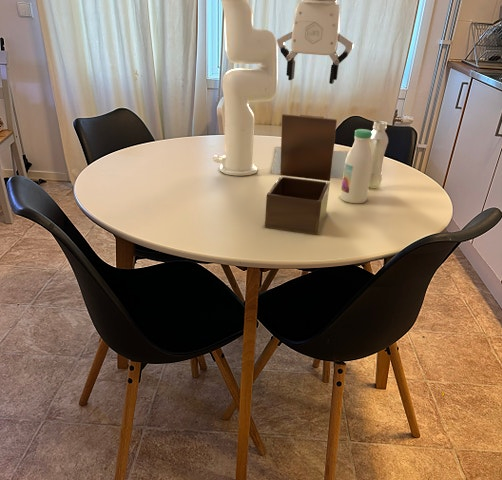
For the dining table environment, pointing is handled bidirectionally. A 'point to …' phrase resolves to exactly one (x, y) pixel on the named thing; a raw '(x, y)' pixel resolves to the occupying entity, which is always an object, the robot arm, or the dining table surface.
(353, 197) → the milk bottle
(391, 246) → the dining table surface
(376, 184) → the plastic bottle
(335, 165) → the architectural model
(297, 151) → the tea box lid
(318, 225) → the tea box
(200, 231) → the dining table surface
